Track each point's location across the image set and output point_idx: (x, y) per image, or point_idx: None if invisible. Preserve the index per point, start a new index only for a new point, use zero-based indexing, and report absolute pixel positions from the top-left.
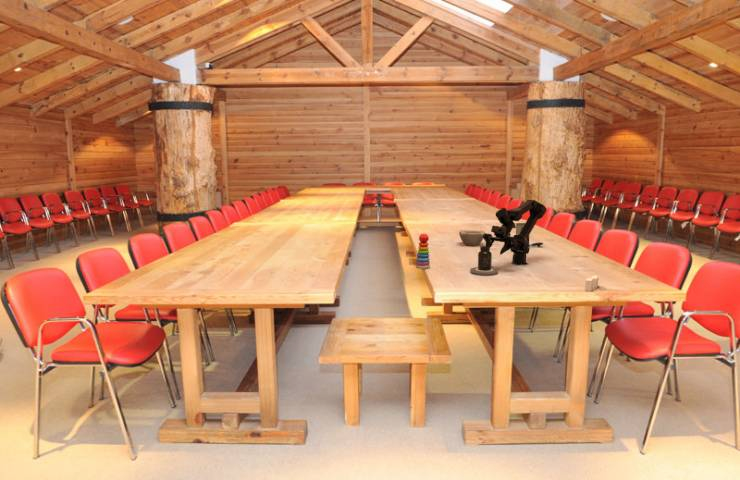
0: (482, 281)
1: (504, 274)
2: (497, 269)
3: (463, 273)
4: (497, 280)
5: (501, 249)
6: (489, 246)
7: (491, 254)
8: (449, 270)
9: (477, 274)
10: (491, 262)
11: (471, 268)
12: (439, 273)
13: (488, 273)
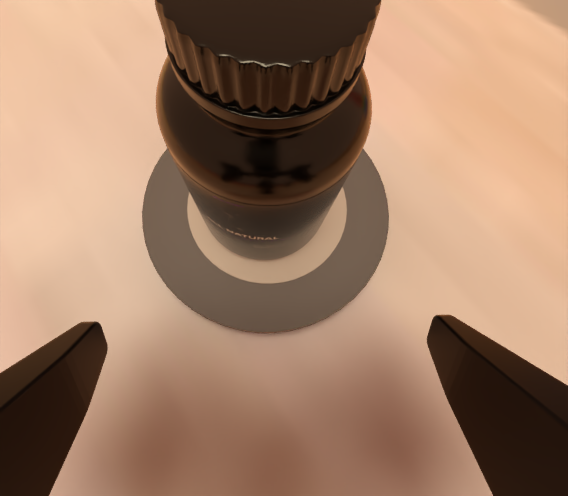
0: (121, 15)
1: (101, 285)
2: (186, 304)
3: None
4: (51, 90)
5: (28, 380)
6: (177, 20)
7: (164, 139)
8: (486, 105)
9: None
10: (196, 205)
11: (376, 174)
12: (452, 9)
13: None
